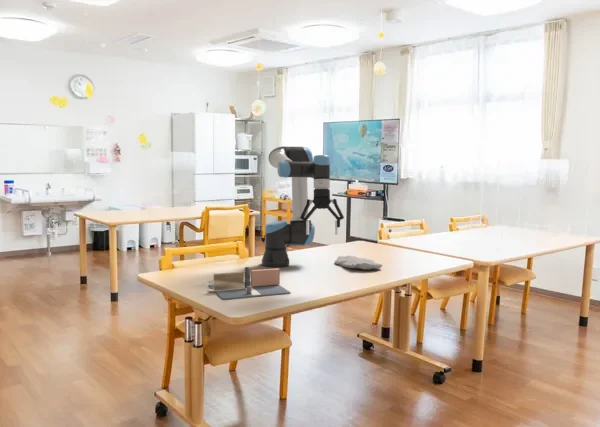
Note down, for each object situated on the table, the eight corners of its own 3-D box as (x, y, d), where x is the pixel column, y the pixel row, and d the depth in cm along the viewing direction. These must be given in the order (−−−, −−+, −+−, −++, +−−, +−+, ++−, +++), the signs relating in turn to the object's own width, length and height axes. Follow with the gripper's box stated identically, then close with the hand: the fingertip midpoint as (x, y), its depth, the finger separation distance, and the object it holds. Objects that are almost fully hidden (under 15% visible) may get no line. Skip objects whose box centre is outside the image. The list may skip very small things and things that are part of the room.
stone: (385, 269, 276) (347, 260, 300) (385, 259, 276) (347, 250, 300) (360, 275, 266) (323, 265, 290) (360, 264, 265) (323, 255, 290)
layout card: (204, 286, 234) (204, 278, 234) (271, 280, 247) (271, 273, 247) (217, 300, 212) (217, 291, 212) (290, 293, 225) (290, 285, 225)
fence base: (213, 289, 227) (213, 269, 226) (249, 286, 233) (249, 266, 232) (214, 290, 225) (214, 270, 224) (250, 287, 231) (250, 267, 230)
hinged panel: (251, 285, 233) (251, 270, 233) (278, 283, 239) (278, 268, 238) (252, 286, 232) (252, 271, 231) (279, 284, 237) (279, 269, 236)
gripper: (293, 188, 241) (293, 234, 241) (347, 187, 235) (347, 234, 235) (297, 189, 248) (298, 234, 248) (349, 188, 242) (350, 234, 242)
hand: (322, 234), depth 242 cm, fingers open, 13 cm apart
